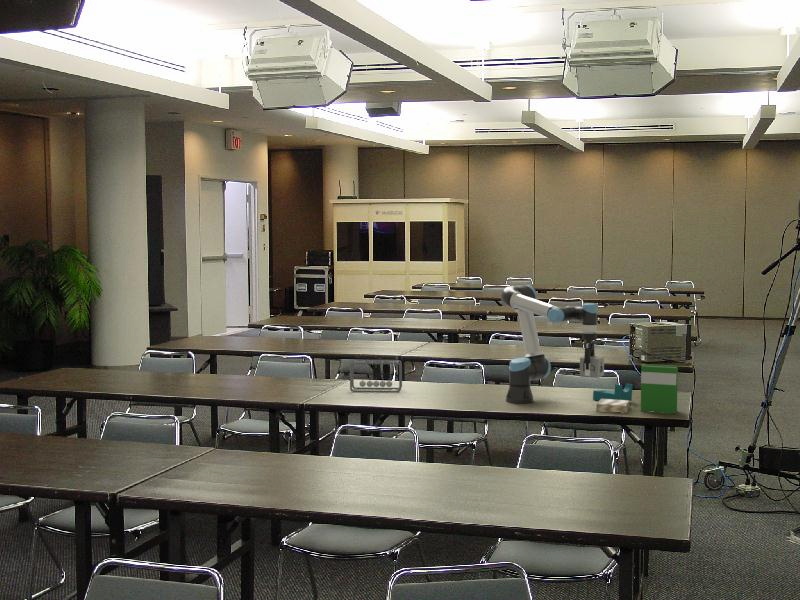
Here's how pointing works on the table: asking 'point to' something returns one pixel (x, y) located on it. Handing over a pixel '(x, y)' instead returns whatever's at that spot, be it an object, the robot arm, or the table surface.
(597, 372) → the icon cube
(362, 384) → the newton's cradle
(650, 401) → the green cereal box
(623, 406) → the plinth
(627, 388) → the teal tape dispenser
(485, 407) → the table surface
